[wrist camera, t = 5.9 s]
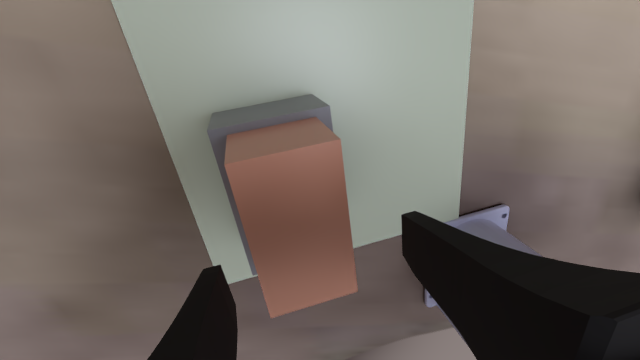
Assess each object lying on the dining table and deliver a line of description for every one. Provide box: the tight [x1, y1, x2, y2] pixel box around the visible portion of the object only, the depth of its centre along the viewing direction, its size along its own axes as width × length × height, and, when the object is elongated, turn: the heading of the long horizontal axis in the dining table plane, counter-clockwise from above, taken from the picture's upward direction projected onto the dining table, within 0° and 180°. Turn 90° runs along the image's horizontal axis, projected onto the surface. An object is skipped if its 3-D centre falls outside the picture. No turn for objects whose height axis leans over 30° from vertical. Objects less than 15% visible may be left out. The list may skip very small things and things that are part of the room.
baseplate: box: [111, 0, 474, 284], centre depth 20 cm, size 22×20×1 cm
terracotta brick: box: [224, 117, 358, 318], centre depth 15 cm, size 8×4×4 cm, turn 8°
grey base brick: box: [207, 94, 333, 276], centre depth 18 cm, size 9×6×4 cm, turn 8°
